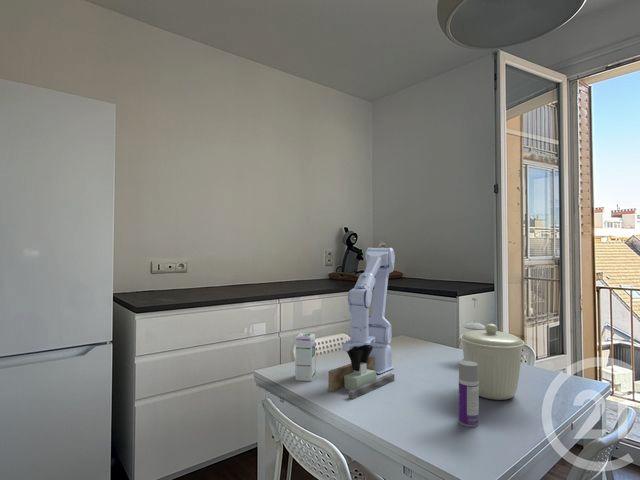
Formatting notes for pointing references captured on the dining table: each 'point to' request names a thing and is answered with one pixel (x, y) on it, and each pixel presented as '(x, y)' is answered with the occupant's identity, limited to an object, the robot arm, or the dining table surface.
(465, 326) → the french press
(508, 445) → the dining table surface
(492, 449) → the dining table surface
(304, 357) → the syrup box
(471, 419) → the container
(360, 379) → the mint block with knob
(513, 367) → the canister
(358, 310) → the robot arm
